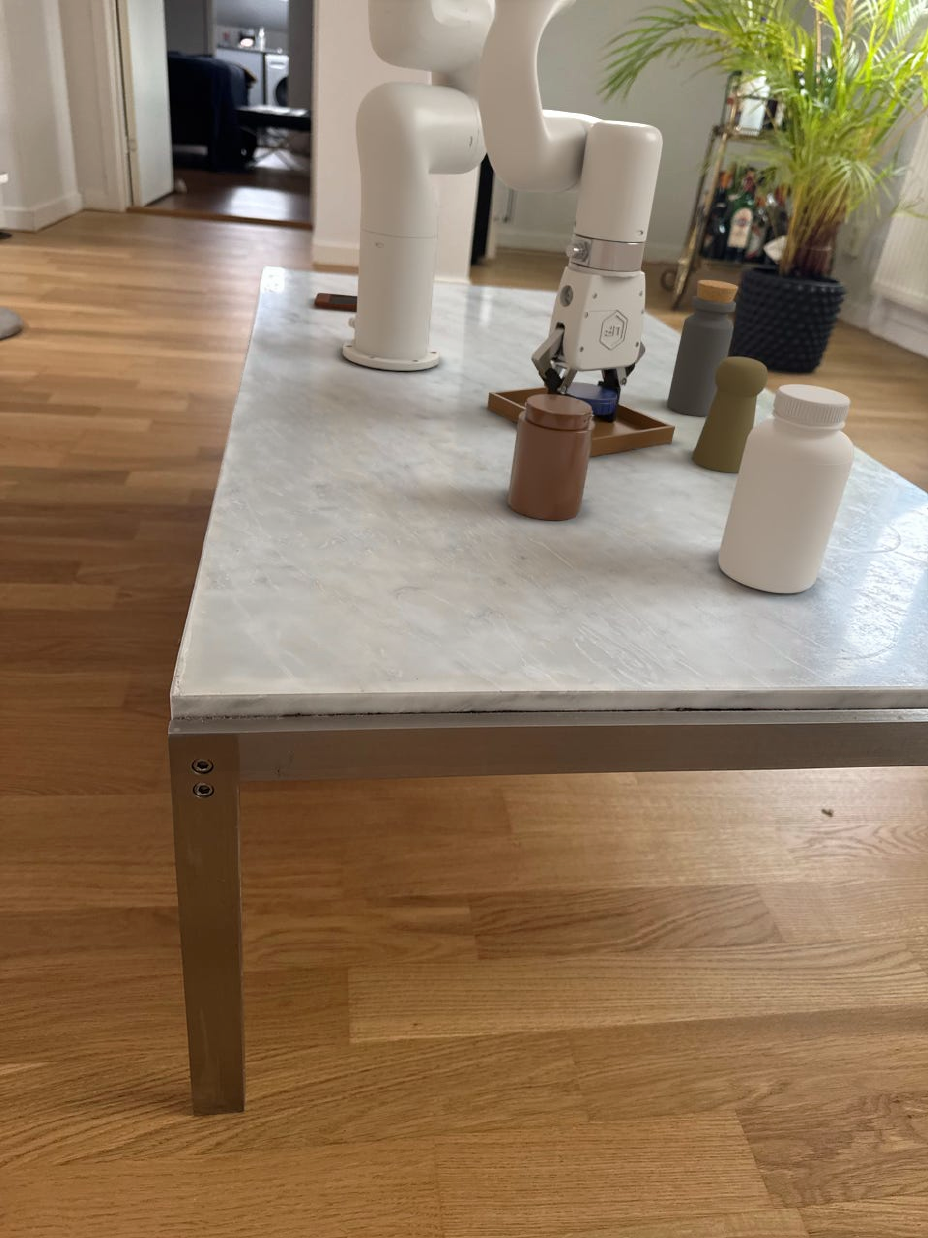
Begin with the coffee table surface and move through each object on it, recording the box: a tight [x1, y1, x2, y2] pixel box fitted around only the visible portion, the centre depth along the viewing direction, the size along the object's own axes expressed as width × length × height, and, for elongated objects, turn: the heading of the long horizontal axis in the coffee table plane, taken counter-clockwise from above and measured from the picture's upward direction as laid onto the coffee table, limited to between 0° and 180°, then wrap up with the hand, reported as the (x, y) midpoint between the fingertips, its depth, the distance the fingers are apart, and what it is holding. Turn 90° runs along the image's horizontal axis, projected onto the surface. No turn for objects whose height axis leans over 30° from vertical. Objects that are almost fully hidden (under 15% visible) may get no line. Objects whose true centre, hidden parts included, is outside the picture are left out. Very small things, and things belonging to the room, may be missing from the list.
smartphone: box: [313, 292, 357, 312], centre depth 148 cm, size 7×1×15 cm
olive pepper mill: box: [691, 356, 769, 474], centre depth 98 cm, size 6×6×11 cm
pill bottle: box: [717, 383, 855, 594], centre depth 74 cm, size 8×8×15 cm
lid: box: [567, 381, 617, 415], centre depth 105 cm, size 7×7×2 cm
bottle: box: [666, 279, 739, 417], centre depth 114 cm, size 6×6×15 cm
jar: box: [507, 394, 595, 521], centre depth 83 cm, size 7×7×9 cm
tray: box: [486, 385, 676, 458], centre depth 106 cm, size 17×13×2 cm
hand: (579, 421), depth 107 cm, fingers closed on lid, 6 cm apart
